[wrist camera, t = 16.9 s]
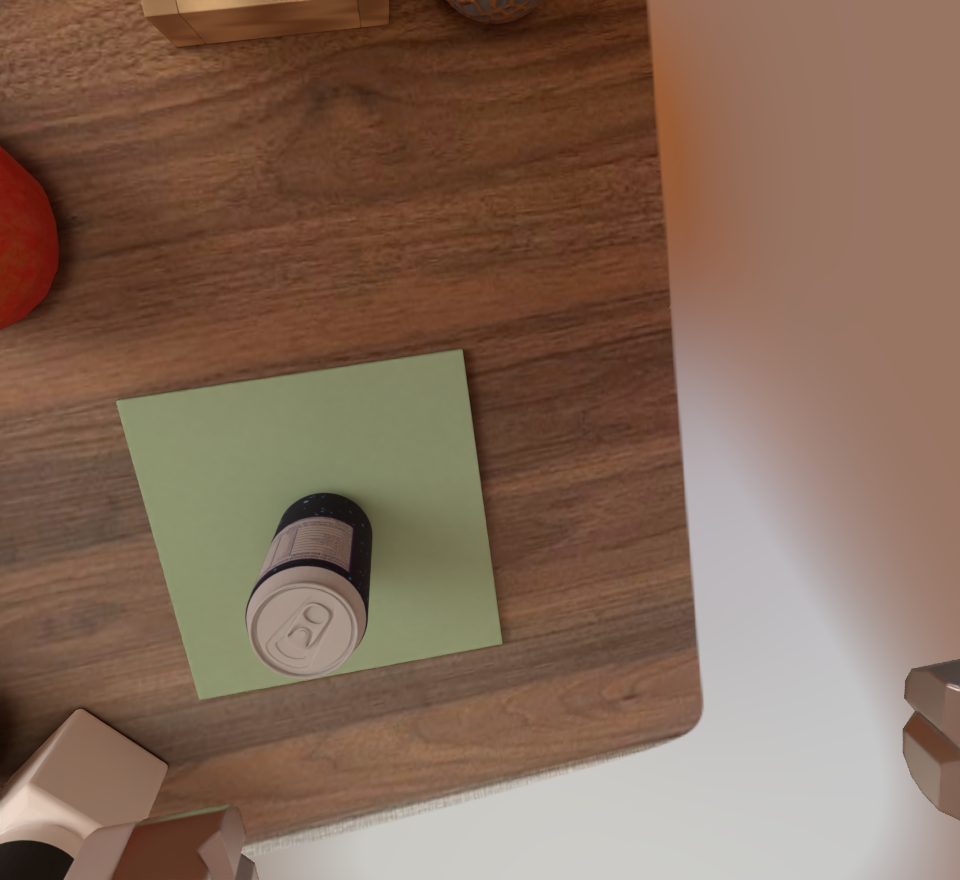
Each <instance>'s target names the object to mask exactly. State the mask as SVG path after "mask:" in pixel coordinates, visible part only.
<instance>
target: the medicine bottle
mask: <svg viewBox="0 0 960 880" xmlns="http://www.w3.org/2000/svg"><path fill="white" fill-rule="evenodd" d="M167 770H168V766H167V764H166V763H164V762H163V761H161V760H160V759H158V758H157V757H155V756H154V755H152V754H151V753H149V752H148V751H146V750H144V749H143V748H141V747H140V746H138V745H137V744H135V743H134V742H132V741H131V740H129V739H128V738H126V737H125V736H123V735H122V734H120V733H119V732H117V731H116V730H114V729H112V728H111V727H109V726H108V725H106V724H105V723H103V722H102V721H100V720H99V719H97V718H96V717H94V716H93V715H91V714H90V713H88V712H87V711H85V710H83V709H78V710H76V711H75V712H74V713H73V714H72V715H71V716H70V717H69V718H68V719H67V720H66V721H65V722H64V723H63V724H62V725H61V726H60V727H59V728H58V729H57V730H56V731H55V732H54V733H53V734H52V735H51V736H50V737H49V738H48V739H47V740H46V741H45V742H44V743H43V744H42V745H41V746H40V747H39V748H38V749H37V750H36V752H35V753H34V754H33V755H32V756H31V757H30V758H29V759H28V760H27V761H26V762H25V763H24V764H23V765H22V766H21V767H20V768H19V769H18V770H17V771H16V772H15V773H14V774H13V775H12V776H11V777H10V778H9V780H8V781H7V783H6V784H5V785H4V787H3V788H2V790H1V791H0V880H64V878H65V876H66V874H67V872H68V871H69V869H70V867H71V865H72V863H73V861H74V859H75V857H76V855H77V853H78V851H79V849H80V847H81V845H82V843H83V842H84V840H85V839H86V837H87V836H88V835H90V834H91V833H92V832H93V831H95V830H96V829H97V828H102V827H107V826H113V825H118V824H124V823H130V822H135V821H142V820H143V819H147V817H148V815H149V813H150V810H151V808H152V806H153V803H154V801H155V798H156V796H157V794H158V791H159V789H160V787H161V784H162V782H163V779H164V777H165V775H166V772H167Z"/></svg>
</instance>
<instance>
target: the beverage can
mask: <svg viewBox="0 0 960 880" xmlns="http://www.w3.org/2000/svg"><path fill="white" fill-rule="evenodd" d="M372 538H373V535H372V527H371V524H370V521H369V519H368V517H367V515H366V514H365V512H364V511H363V510H362V509H361V508H360V507H359V506H358V505H357V504H356V503H355V502H353V501H352V500H350V499H348V498H346V497H344V496H341V495H338V494H333V493H316V494H312V495H308V496H305V497H303V498H301V499H299V500H298V501H296V502H295V503H293V504H292V505H291V506H290V507H289V508H288V509H287V510H286V511H285V513H284V514H283V516H282V518H281V520H280V522H279V525H278V527H277V530H276V532H275V535H274V537H273V540H272V542H271V545H270V547H269V550H268V552H267V555H266V557H265V560H264V562H263V565H262V567H261V570H260V572H259V575H258V577H257V580H256V583H255V585H254V588H253V590H252V593H251V595H250V598H249V600H248V603H247V607H246V613H245V621H246V628H247V631H248V634H249V638H250V643H251V645H252V648H253V650H254V652H255V654H256V656H257V657H258V658H259V659H260V661H261V662H262V663H263V664H264V665H265V666H267V667H268V668H269V669H271V670H272V671H274V672H276V673H278V674H280V675H283V676H286V677H289V678H296V679H311V678H317V677H321V676H324V675H326V674H329V673H331V672H333V671H334V670H336V669H338V668H339V667H340V666H341V665H343V664H344V663H345V662H346V661H347V659H348V658H349V657H350V656H351V654H352V653H353V651H354V650H355V649H356V648H357V647H358V645H359V644H360V642H361V641H362V639H363V637H364V635H365V632H366V628H367V623H368V609H369V592H370V574H371V556H372Z"/></svg>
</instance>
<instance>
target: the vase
mask: <svg viewBox="0 0 960 880" xmlns="http://www.w3.org/2000/svg"><path fill="white" fill-rule="evenodd" d="M446 1H447V2H448V3H449V4H450V5H451V6H452V7H453V8H454V9H455V10H457V11H458V12H459V13H461V14H462V15H464V16H466V17H468V18H470V19H472V20H475V21H478V22H482V23H488V24H501V23H506V22H510V21H513V20H516V19H519V18H521V17H523V16H525V15H527V14H528V13H530V12H531V11H532V10H534V9H535V8H536V7H537V6H538V5H539V4H540V3H541V2H542V1H543V0H446Z"/></svg>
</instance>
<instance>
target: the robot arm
mask: <svg viewBox="0 0 960 880" xmlns="http://www.w3.org/2000/svg"><path fill="white" fill-rule="evenodd" d="M904 698H905V699H906V701H907V702H908V703H909V704H910V705H911V707H912V708H913V709H914V710H915V712H914V713H913V715H912V716H911V718H910V719H909V721H908V722H907V724H906V725H905V727H904V728H903V754H904V757H905V760H906V762H907V765H908V768H909V771H910V774H911V776H912V778H913V779H914V781H915V782H916V784H917V785H918V787H919V789H920V790H921V791H922V793H923V794H924V795H925V796H926V797H927V799H929V801H930V802H931V803H932V804H933V805H934V806H935V807H936V808H937V809H938V810H939V811H941V812H943V813H945V814H947V815H950V816H952V817H954V818H956V819H958V820H960V659H957V660H952V661H948V662H943V663H938V664H934V665H928V666H923V667H918V668H914V669H911V671H910V673H909V675H908V676H907V678H906V680H905V695H904ZM245 834H246V830H245V826H244V823H243V820H242V817H241V814H240V811H239V808H238V807H236V806H234V805H233V804H228V805H223V806H217V807H211V808H205V809H200V810H194V811H188V812H182V813H177V814H171V815H165V816H159V817H154V818H148V819H143V820H142V821H135V822H130V823H124V824H118V825H113V826H107V827H102V828H97V829H96V830H95V831H93V832H92V833H91V834H90V835H88V836H87V837H86V839H85V840H84V842H83V843H82V845H81V847H80V849H79V851H78V853H77V855H76V857H75V859H74V861H73V863H72V865H71V867H70V869H69V871H68V872H67V874H66V876H65V878H64V880H259V878H258V874H257V870H256V866H255V863H254V862H253V861H251V860H250V859H248V858H247V857H246V856H244V855H243V854H241V851H242V847H243V843H244V838H245Z"/></svg>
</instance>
